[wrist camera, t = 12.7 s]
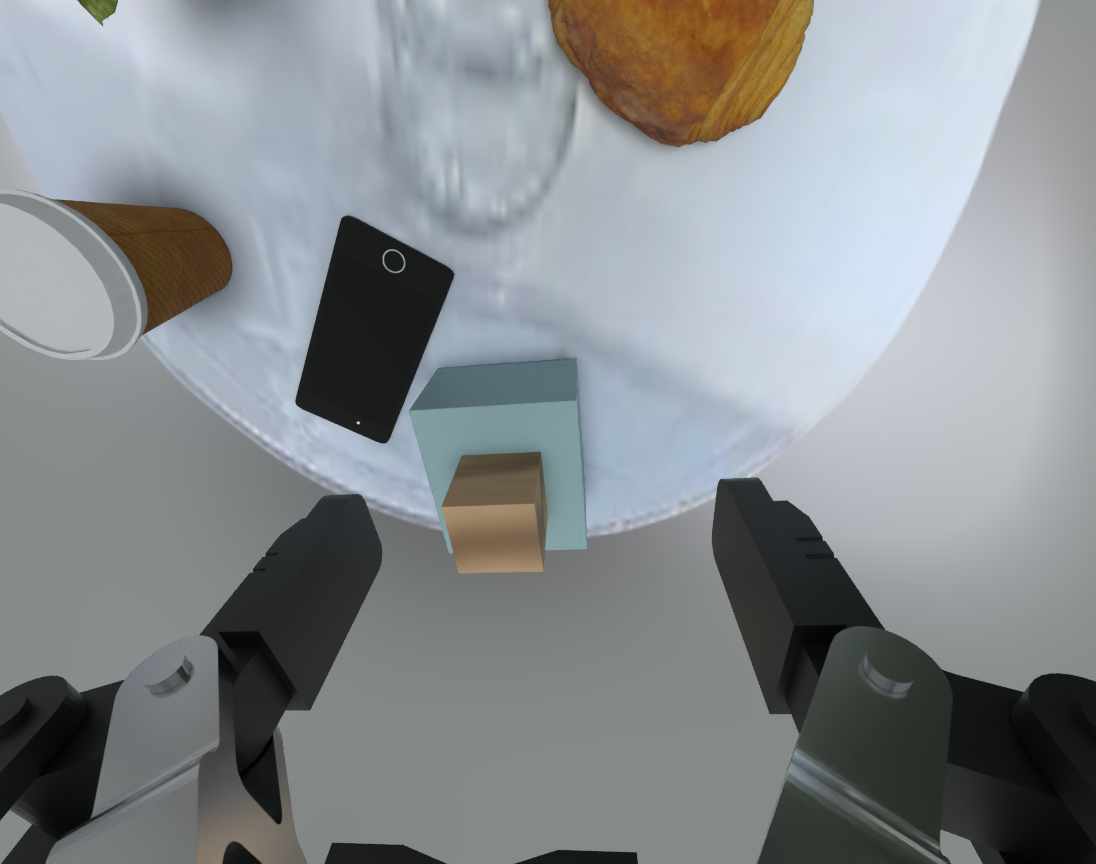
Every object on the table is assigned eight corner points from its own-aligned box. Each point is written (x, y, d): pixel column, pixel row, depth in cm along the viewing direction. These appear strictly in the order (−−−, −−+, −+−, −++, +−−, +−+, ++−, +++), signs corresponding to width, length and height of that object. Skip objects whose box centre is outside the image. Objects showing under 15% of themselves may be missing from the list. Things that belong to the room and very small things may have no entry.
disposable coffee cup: (171, 319, 38) (20, 375, 28) (100, 194, 33) (-113, 205, 23) (273, 305, 37) (156, 358, 27) (215, 173, 32) (46, 175, 22)
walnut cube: (461, 455, 34) (441, 506, 29) (540, 451, 33) (534, 503, 28) (475, 516, 37) (458, 573, 32) (547, 514, 36) (543, 571, 31)
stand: (438, 368, 39) (408, 410, 32) (576, 358, 38) (576, 400, 31) (467, 495, 46) (448, 553, 39) (585, 490, 45) (586, 548, 38)
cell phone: (457, 270, 35) (454, 272, 34) (389, 441, 44) (385, 446, 43) (347, 212, 34) (342, 213, 33) (298, 401, 42) (293, 405, 41)
